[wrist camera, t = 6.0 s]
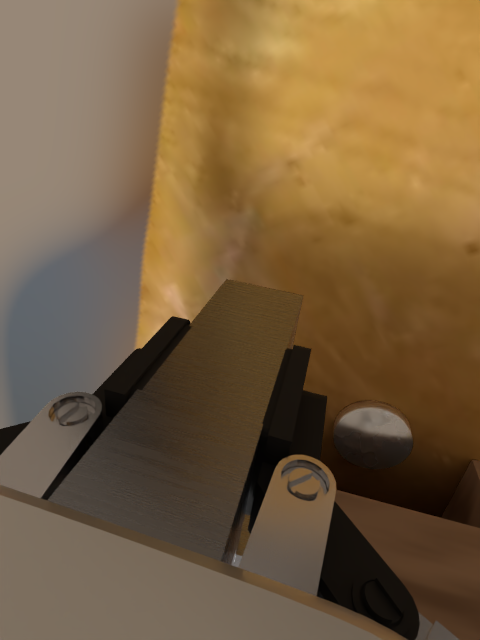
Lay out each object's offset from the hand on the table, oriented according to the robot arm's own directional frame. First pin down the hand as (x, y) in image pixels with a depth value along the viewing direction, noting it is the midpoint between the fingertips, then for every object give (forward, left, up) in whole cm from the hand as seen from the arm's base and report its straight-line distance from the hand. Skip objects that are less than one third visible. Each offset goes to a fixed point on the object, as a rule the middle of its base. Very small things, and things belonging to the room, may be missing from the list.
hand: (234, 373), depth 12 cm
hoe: (+6, 0, -4) cm, 7 cm away
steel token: (+15, +9, -17) cm, 24 cm away
